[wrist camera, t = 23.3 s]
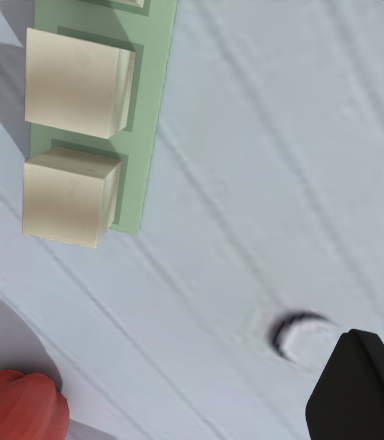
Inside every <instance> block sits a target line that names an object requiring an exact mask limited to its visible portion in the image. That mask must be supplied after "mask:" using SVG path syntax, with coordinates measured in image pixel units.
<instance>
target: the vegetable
mask: <svg viewBox="0 0 384 440" xmlns="http://www.w3.org/2000/svg"><path fill="white" fill-rule="evenodd" d="M68 424H69V408H68V404H67V399H66V398H65V397H64V396H63V395H62V394H61V393H59V392H58V391H56V388H55V383H54V381H53V380H52V379H50V378H49V377H47V376H46V375H44V374H40V373H37V372H35V373H30V374H28V375H24V374H23V373H21V372H19V371H17V370H9V369H5V370H2V371H0V440H64V439H65V437H66V433H67V428H68Z"/></svg>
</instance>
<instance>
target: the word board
mask: <svg viewBox="0 0 384 440" xmlns="http://www.w3.org/2000/svg"><path fill="white" fill-rule="evenodd" d="M177 2H178V0H144V5H143V8H140V7H136V6H131V5H127V4H123V3H119V2H114V1H110V0H35V5H34V29H38V30H42V31H47V32H51V33H56V34H60V35H65V36H69V37H73V38H78V39H82V40H86V41H91V42H95V43H100V44H104V45H108V46H113V47H117V48H121V49H126V50H130V51H135V52H136V57H135V64H134V72H133V79H132V87H131V94H130V102H129V109H128V117H127V124H126V127H125V128H123V129H122V130H120V131H119V132H117V133H116V134H114V135H113V136H111V137H110V138H108V139H105V138H100V137H96V136H91V135H86V134H82V133H77V132H73V131H68V130H64V129H59V128H55V127H50V126H45V125H41V124H36V123H32V122H31V136H30V159H32V158H34V157H36V156H38V155H40V154H42V153H44V152H46V151H48V150H50V149H52V148H54V147H56V146H57V147H62V148H66V149H71V150H75V151H80V152H85V153H89V154H94V155H98V156H103V157H108V158H112V159H117V160H121V161H122V163H121V170H120V178H119V185H118V193H117V200H116V208H115V215H114V221H113V222H112V224H111V225H110V227H109V228H108V229H111V230H116V231H121V232H125V233H130V234H135V235H137V234H138V232H139V229H140V223H141V217H142V211H143V205H144V199H145V193H146V187H147V181H148V175H149V169H150V163H151V157H152V151H153V145H154V139H155V133H156V127H157V121H158V115H159V109H160V104H161V98H162V92H163V86H164V80H165V74H166V68H167V62H168V56H169V50H170V44H171V38H172V32H173V26H174V20H175V14H176V8H177Z"/></svg>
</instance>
